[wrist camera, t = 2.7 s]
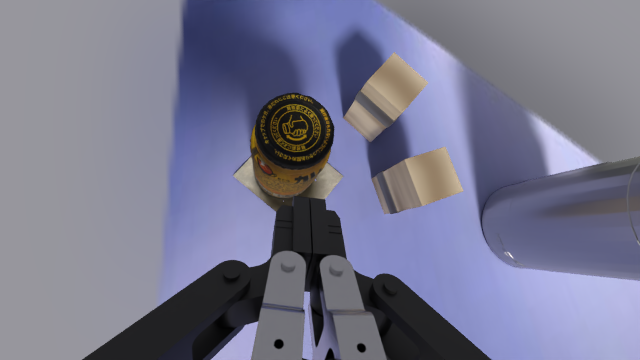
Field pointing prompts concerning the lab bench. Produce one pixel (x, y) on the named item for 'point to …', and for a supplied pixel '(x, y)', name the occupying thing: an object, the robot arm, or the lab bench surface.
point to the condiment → (290, 152)
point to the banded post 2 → (417, 181)
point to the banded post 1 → (384, 97)
